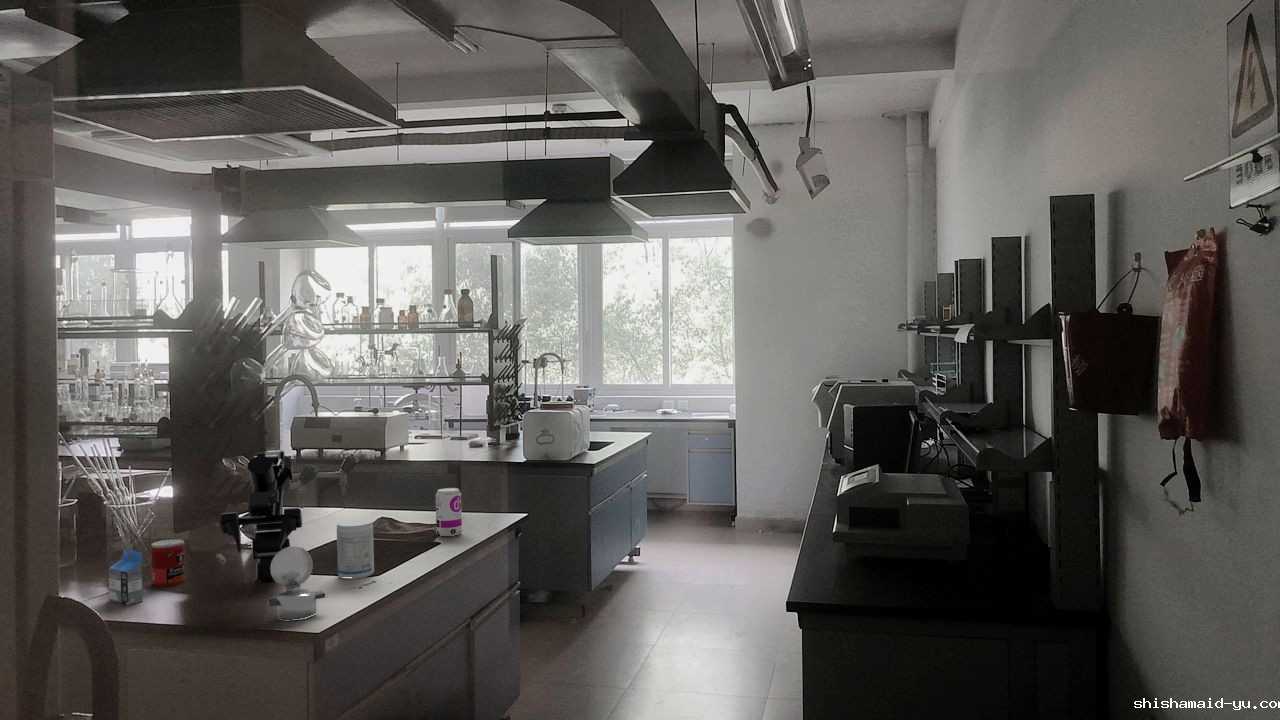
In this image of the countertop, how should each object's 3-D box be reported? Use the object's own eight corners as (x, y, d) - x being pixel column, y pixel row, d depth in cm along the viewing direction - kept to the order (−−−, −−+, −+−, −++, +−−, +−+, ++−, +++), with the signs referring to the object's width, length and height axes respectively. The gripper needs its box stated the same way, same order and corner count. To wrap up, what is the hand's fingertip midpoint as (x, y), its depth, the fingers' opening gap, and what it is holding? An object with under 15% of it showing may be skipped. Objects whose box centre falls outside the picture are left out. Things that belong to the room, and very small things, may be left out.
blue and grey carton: (108, 600, 214) (107, 552, 213) (124, 596, 217) (123, 548, 217) (127, 605, 209) (126, 555, 209) (144, 601, 212) (142, 552, 212)
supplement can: (467, 533, 283) (466, 488, 283) (449, 538, 276) (448, 492, 276) (449, 531, 287) (448, 486, 287) (431, 535, 280) (430, 490, 280)
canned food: (171, 587, 225) (169, 546, 224) (145, 586, 226) (143, 545, 226) (192, 579, 232) (190, 539, 232) (166, 578, 234) (165, 538, 234)
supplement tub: (342, 571, 237) (341, 519, 237) (377, 570, 238) (376, 517, 238) (333, 581, 227) (332, 526, 227) (370, 579, 228) (368, 524, 228)
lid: (272, 592, 199) (270, 591, 200) (314, 585, 204) (312, 585, 205) (269, 549, 200) (268, 549, 202) (311, 544, 205) (310, 543, 207)
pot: (320, 605, 206) (319, 584, 206) (328, 615, 197) (327, 594, 197) (265, 614, 199) (264, 593, 199) (271, 625, 191) (271, 603, 191)
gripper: (219, 481, 211) (212, 535, 201) (299, 476, 216) (297, 529, 206) (225, 506, 219) (219, 559, 209) (303, 500, 224) (301, 552, 214)
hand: (259, 549), depth 209 cm, fingers open, 9 cm apart
